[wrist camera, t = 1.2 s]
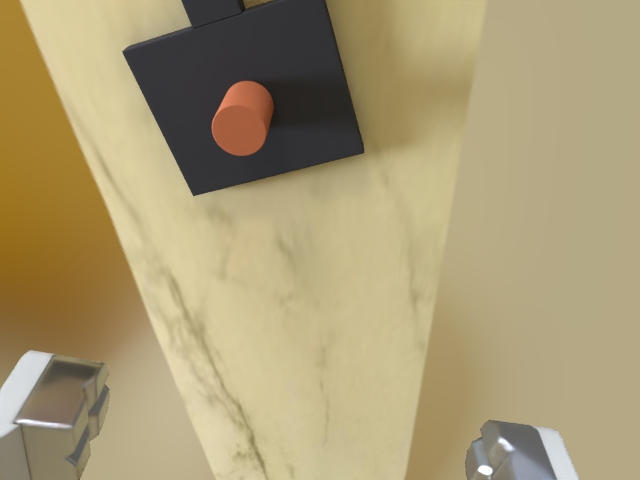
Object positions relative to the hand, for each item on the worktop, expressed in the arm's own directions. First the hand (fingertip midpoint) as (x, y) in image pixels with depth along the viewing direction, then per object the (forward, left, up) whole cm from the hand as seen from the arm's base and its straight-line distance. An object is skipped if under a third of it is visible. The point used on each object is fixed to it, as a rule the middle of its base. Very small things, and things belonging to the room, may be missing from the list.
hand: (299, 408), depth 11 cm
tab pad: (+5, -1, -25) cm, 25 cm away
